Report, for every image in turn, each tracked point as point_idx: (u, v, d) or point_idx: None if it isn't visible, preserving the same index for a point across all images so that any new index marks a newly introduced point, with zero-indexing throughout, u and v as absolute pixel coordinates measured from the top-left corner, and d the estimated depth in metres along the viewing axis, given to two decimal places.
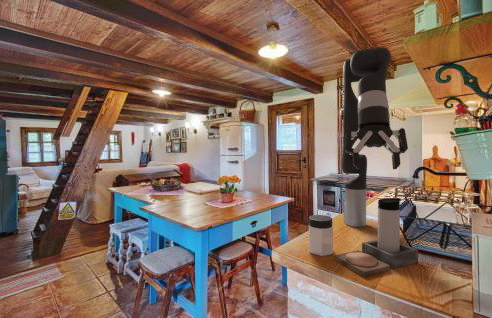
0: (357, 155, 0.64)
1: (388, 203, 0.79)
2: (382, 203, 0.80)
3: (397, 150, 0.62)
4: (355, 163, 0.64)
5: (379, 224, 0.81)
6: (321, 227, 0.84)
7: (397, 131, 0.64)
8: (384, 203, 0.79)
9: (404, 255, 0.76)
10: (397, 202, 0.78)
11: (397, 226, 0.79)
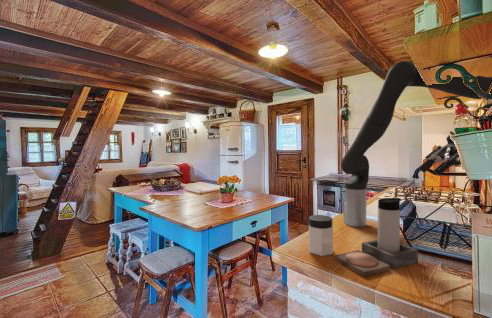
0: None
1: (388, 203, 0.79)
2: (382, 203, 0.80)
3: None
4: None
5: (379, 224, 0.81)
6: (321, 227, 0.84)
7: None
8: (384, 203, 0.79)
9: (404, 255, 0.76)
10: (397, 202, 0.78)
11: (397, 226, 0.79)
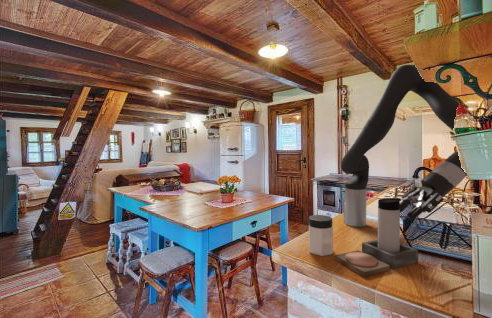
0: None
1: (388, 203, 0.79)
2: (382, 203, 0.80)
3: None
4: None
5: (379, 224, 0.81)
6: (321, 227, 0.84)
7: None
8: (384, 203, 0.79)
9: (404, 255, 0.76)
10: (397, 202, 0.78)
11: (397, 226, 0.79)
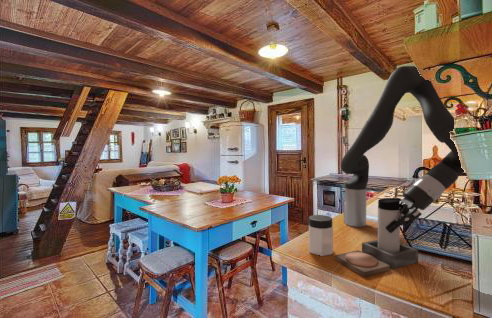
0: None
1: (388, 203, 0.79)
2: (382, 203, 0.80)
3: None
4: None
5: (379, 224, 0.81)
6: (321, 227, 0.84)
7: None
8: (384, 203, 0.79)
9: (404, 255, 0.76)
10: (397, 202, 0.78)
11: None
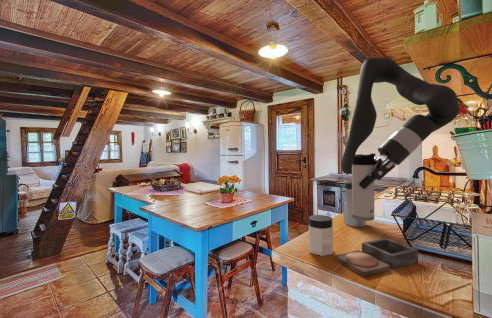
0: None
1: (361, 157, 0.73)
2: (355, 158, 0.75)
3: None
4: None
5: (353, 181, 0.76)
6: (321, 227, 0.84)
7: None
8: (357, 158, 0.74)
9: (404, 255, 0.76)
10: (371, 156, 0.73)
11: None
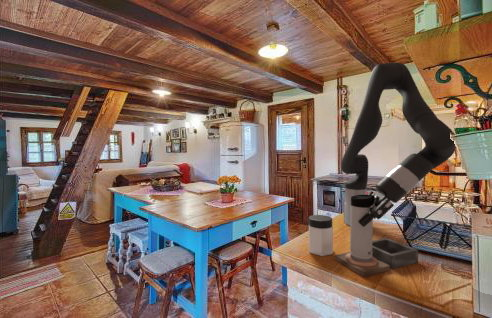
0: None
1: (360, 200, 0.74)
2: (354, 200, 0.76)
3: None
4: None
5: (351, 222, 0.77)
6: (321, 227, 0.84)
7: None
8: (356, 200, 0.75)
9: (404, 255, 0.76)
10: (369, 199, 0.74)
11: (369, 224, 0.74)
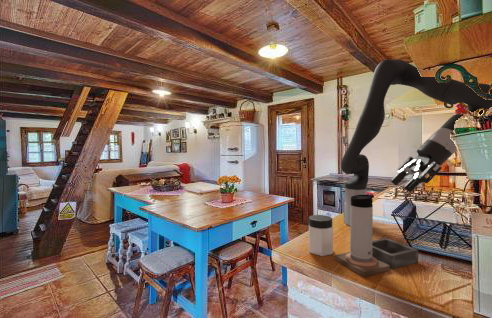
0: None
1: (360, 200, 0.74)
2: (354, 200, 0.76)
3: None
4: None
5: (351, 222, 0.77)
6: (321, 227, 0.84)
7: None
8: (356, 200, 0.75)
9: (404, 255, 0.76)
10: (369, 199, 0.74)
11: (369, 224, 0.74)
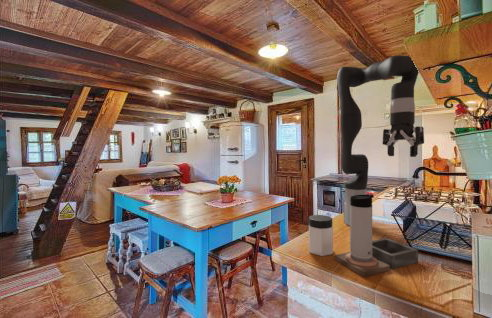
0: None
1: (359, 200, 0.74)
2: (354, 200, 0.76)
3: None
4: None
5: (351, 222, 0.77)
6: (321, 227, 0.84)
7: None
8: (355, 200, 0.75)
9: (404, 255, 0.76)
10: (369, 199, 0.74)
11: (369, 224, 0.74)
